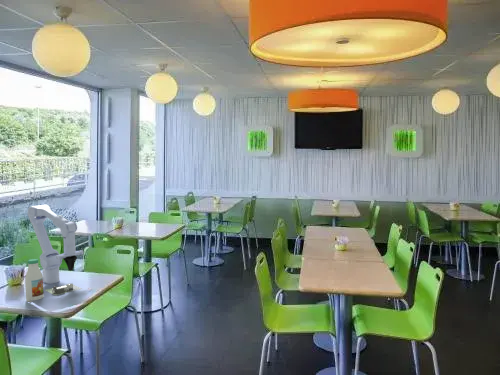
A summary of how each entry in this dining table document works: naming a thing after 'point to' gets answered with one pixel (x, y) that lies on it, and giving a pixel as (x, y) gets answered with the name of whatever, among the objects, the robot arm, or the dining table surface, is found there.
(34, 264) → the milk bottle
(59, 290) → the latch board
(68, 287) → the swing bar
